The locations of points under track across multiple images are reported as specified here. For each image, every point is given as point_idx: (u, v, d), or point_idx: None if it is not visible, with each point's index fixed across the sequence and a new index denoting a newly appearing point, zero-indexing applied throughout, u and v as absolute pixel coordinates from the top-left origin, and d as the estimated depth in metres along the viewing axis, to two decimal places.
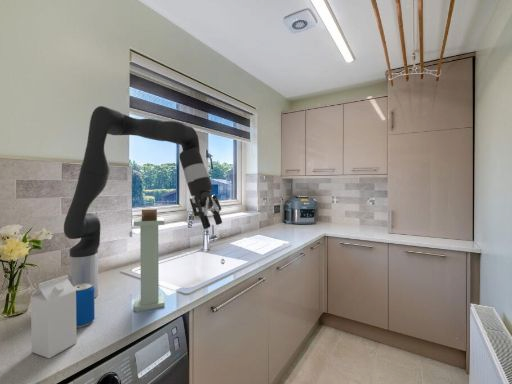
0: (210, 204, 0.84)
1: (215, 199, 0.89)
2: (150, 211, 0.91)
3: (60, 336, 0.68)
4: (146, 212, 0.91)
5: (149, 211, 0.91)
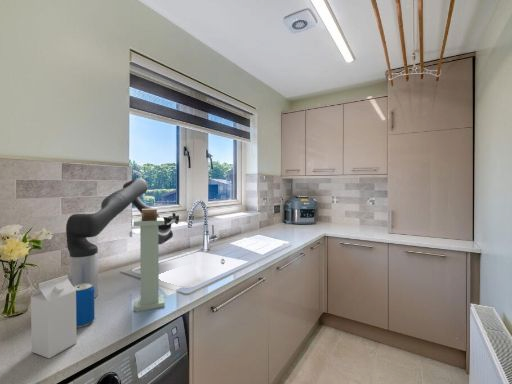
0: None
1: None
2: (150, 211, 0.91)
3: (60, 336, 0.68)
4: (146, 212, 0.91)
5: (149, 211, 0.91)
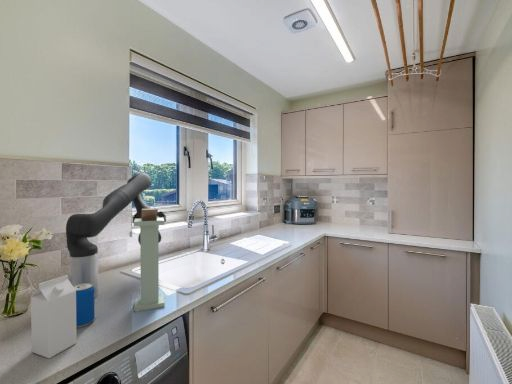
0: None
1: None
2: (150, 211, 0.91)
3: (60, 336, 0.68)
4: (146, 212, 0.91)
5: (149, 211, 0.91)
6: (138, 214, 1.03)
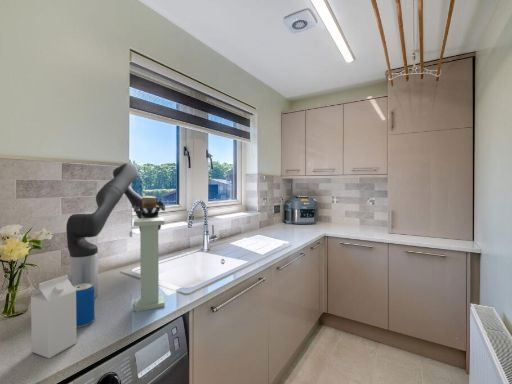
0: (150, 209, 1.17)
1: (138, 210, 1.15)
2: (150, 199, 1.00)
3: (60, 336, 0.68)
4: (146, 200, 1.00)
5: (149, 199, 1.00)
6: (139, 203, 1.12)
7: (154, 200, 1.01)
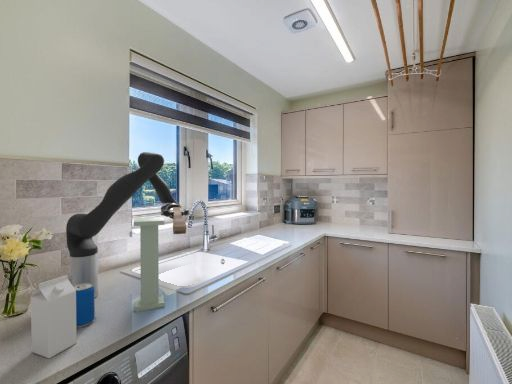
0: None
1: None
2: (181, 227, 1.08)
3: (60, 336, 0.68)
4: (177, 228, 1.07)
5: (180, 227, 1.08)
6: (167, 213, 1.18)
7: (184, 228, 1.09)
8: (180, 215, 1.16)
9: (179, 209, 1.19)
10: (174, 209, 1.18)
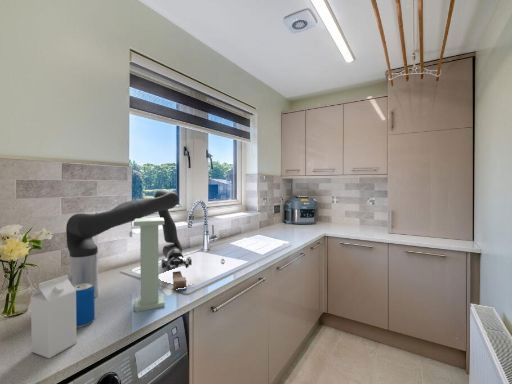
0: None
1: None
2: (181, 282, 1.09)
3: (60, 336, 0.68)
4: (178, 283, 1.09)
5: (180, 282, 1.09)
6: (163, 265, 1.18)
7: (184, 282, 1.10)
8: (180, 275, 1.18)
9: (179, 272, 1.23)
10: (174, 273, 1.22)
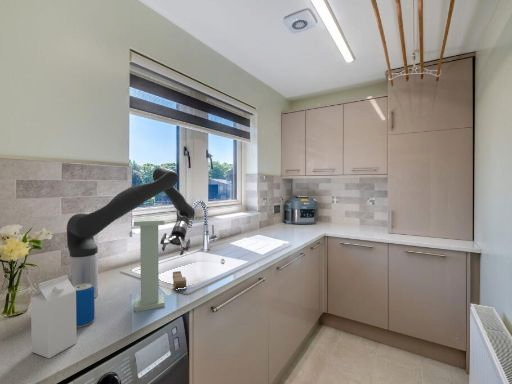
0: None
1: None
2: (181, 282, 1.09)
3: (60, 336, 0.68)
4: (178, 283, 1.09)
5: (180, 282, 1.09)
6: (161, 242, 1.28)
7: (184, 282, 1.10)
8: (180, 275, 1.18)
9: (179, 272, 1.23)
10: (174, 273, 1.22)
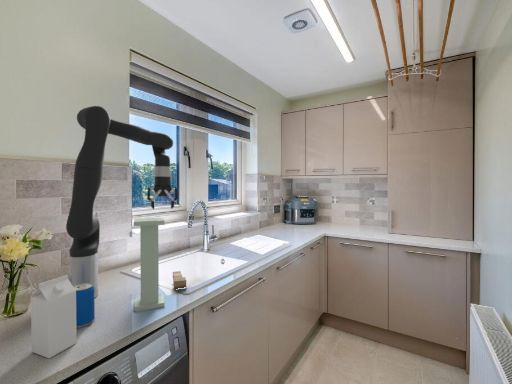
0: None
1: None
2: (181, 282, 1.09)
3: (60, 336, 0.68)
4: (177, 283, 1.09)
5: (180, 282, 1.09)
6: None
7: (184, 282, 1.10)
8: (180, 275, 1.18)
9: (179, 272, 1.23)
10: (174, 273, 1.22)
